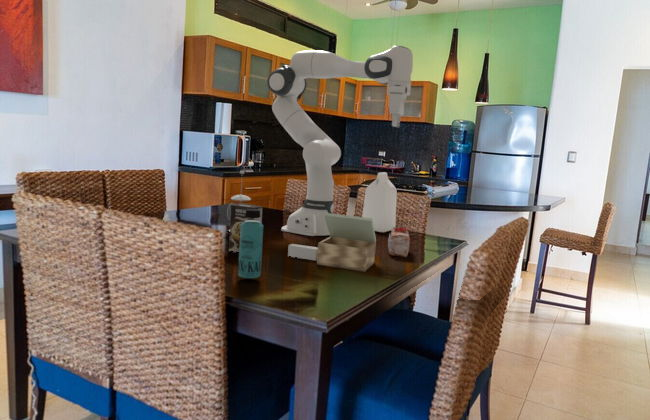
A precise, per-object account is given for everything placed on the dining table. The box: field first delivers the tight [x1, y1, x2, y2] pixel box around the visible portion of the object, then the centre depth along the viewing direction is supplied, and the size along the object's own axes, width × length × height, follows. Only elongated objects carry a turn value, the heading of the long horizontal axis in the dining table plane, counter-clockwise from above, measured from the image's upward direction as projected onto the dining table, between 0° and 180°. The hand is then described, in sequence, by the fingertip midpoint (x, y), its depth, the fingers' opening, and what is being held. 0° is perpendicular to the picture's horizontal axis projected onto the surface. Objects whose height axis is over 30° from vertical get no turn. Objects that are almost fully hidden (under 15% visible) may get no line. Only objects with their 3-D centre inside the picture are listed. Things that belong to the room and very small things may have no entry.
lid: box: [324, 213, 377, 244], centre depth 166 cm, size 16×13×1 cm
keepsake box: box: [316, 236, 377, 273], centre depth 165 cm, size 16×12×7 cm
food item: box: [387, 226, 411, 258], centre depth 185 cm, size 14×8×10 cm, turn 174°
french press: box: [226, 170, 252, 232], centre depth 203 cm, size 10×12×25 cm
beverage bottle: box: [237, 209, 264, 279], centre depth 139 cm, size 6×7×20 cm
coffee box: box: [228, 202, 264, 253], centre depth 171 cm, size 9×6×16 cm
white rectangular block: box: [287, 243, 318, 262], centre depth 170 cm, size 10×3×4 cm, turn 70°
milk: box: [361, 171, 398, 233], centre depth 232 cm, size 12×12×26 cm
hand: (395, 126), depth 195 cm, fingers open, 8 cm apart
